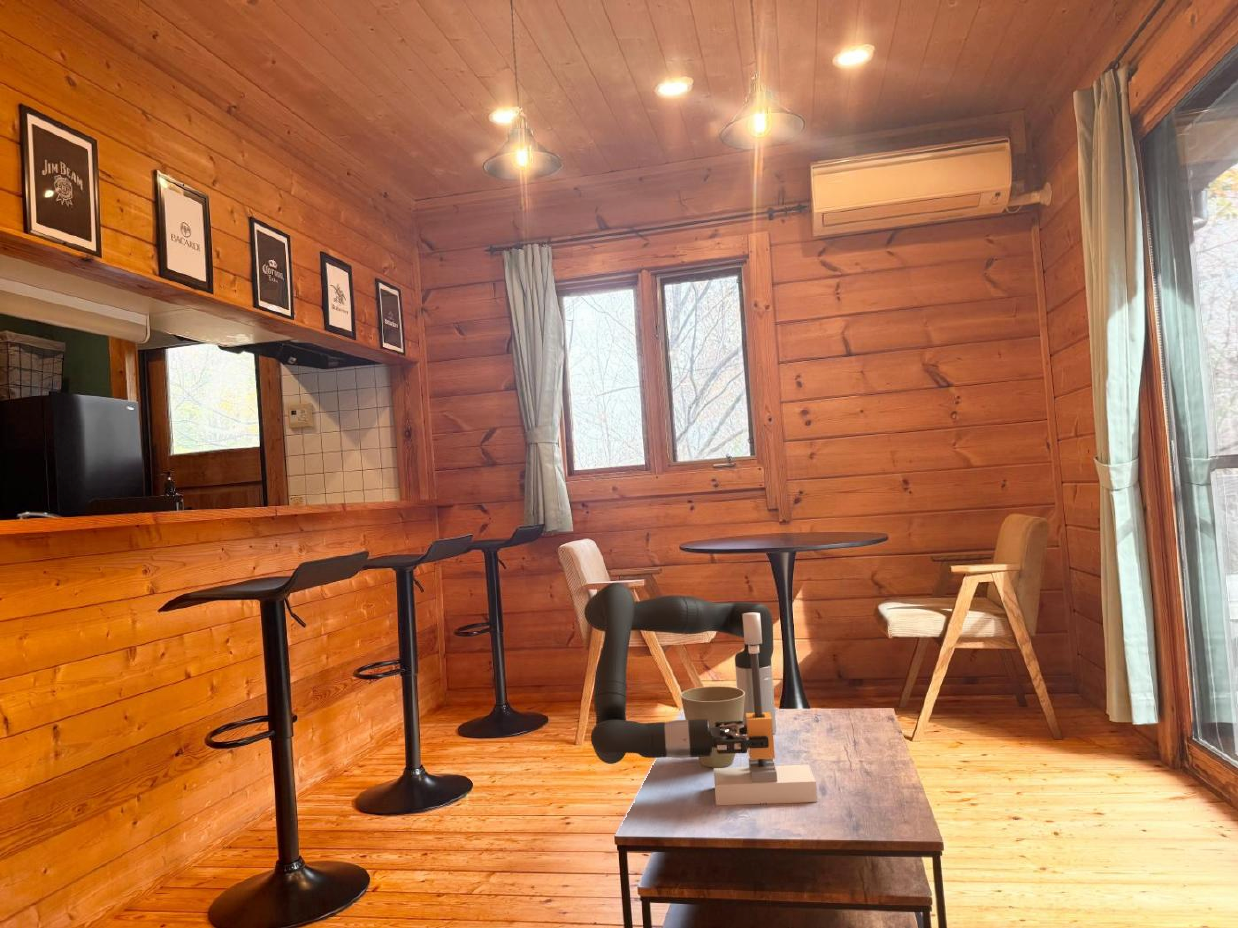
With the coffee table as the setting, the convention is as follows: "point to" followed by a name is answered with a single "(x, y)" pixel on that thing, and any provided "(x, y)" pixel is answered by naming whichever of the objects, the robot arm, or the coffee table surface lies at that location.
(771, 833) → the coffee table surface
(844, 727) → the coffee table surface
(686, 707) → the plant pot
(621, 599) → the robot arm
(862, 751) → the coffee table surface
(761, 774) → the stand
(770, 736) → the sleeve
